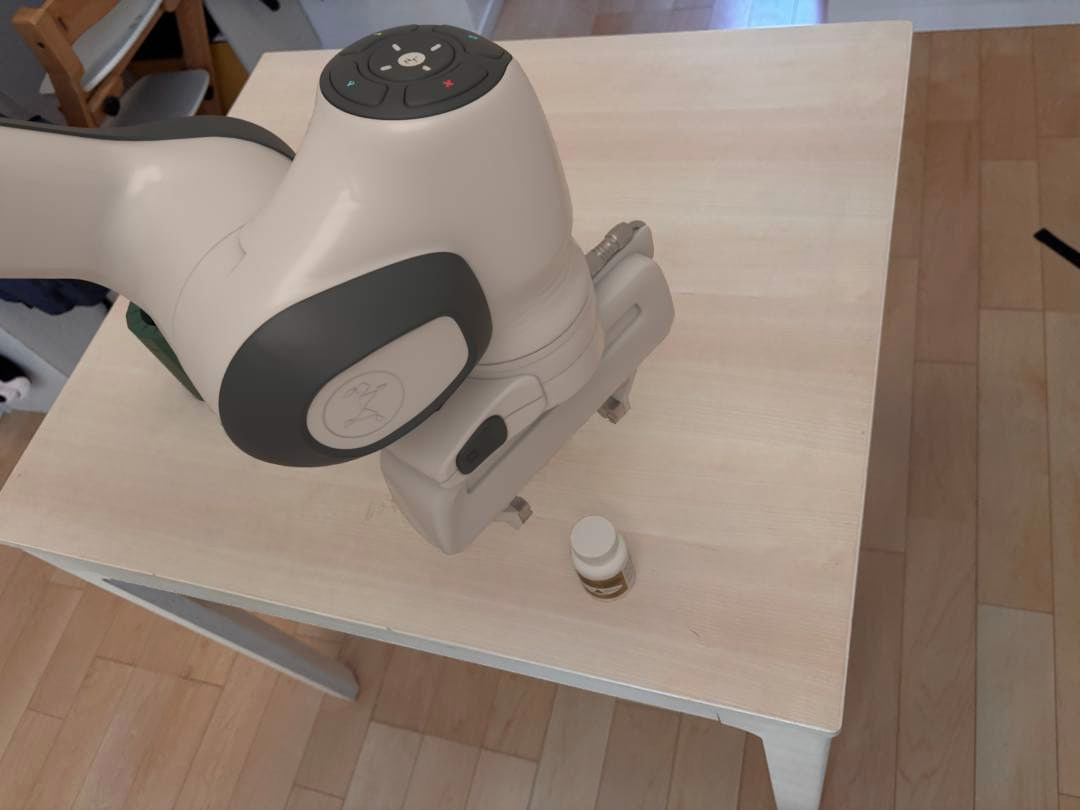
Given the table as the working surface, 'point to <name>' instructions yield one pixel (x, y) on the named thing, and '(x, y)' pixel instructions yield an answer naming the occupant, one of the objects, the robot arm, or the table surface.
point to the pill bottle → (601, 558)
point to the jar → (157, 344)
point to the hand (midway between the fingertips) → (566, 463)
